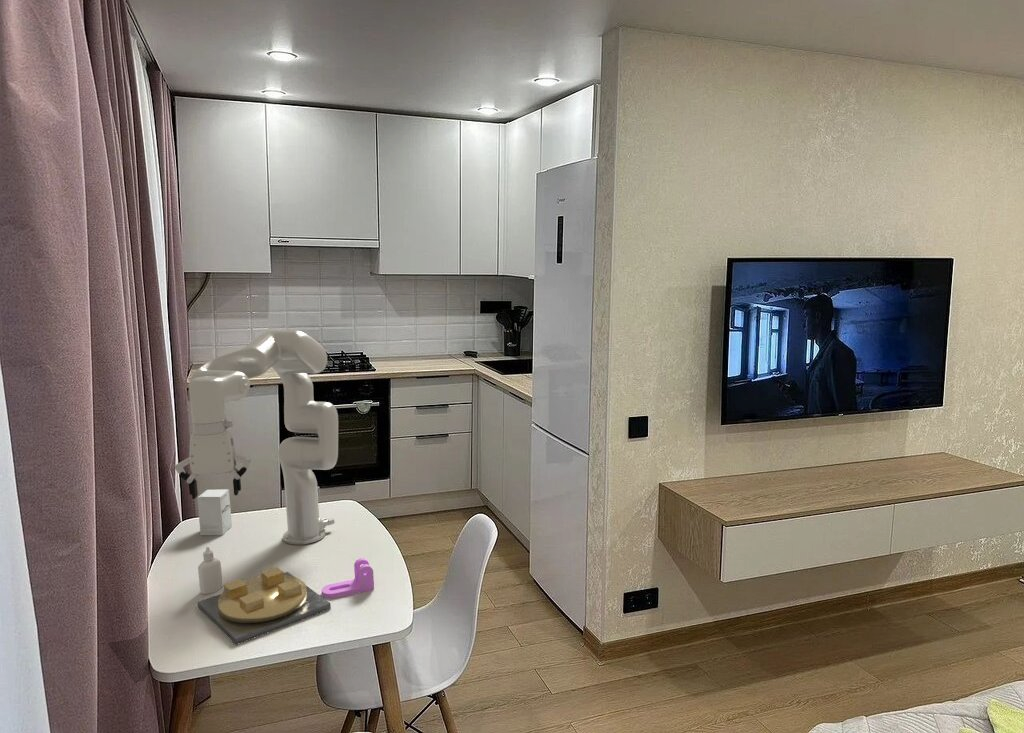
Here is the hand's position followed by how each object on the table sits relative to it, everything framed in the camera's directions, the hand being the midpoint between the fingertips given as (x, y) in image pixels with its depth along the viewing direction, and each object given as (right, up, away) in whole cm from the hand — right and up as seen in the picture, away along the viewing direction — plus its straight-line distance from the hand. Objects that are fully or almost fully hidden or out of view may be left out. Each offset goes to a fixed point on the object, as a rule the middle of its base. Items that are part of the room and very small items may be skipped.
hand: (216, 495), depth 185 cm
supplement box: (-21, -21, +53) cm, 61 cm away
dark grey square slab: (+10, -29, +4) cm, 31 cm away
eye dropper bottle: (-7, -28, +14) cm, 32 cm away
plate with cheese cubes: (+10, -27, +4) cm, 29 cm away
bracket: (+29, -27, +13) cm, 42 cm away
